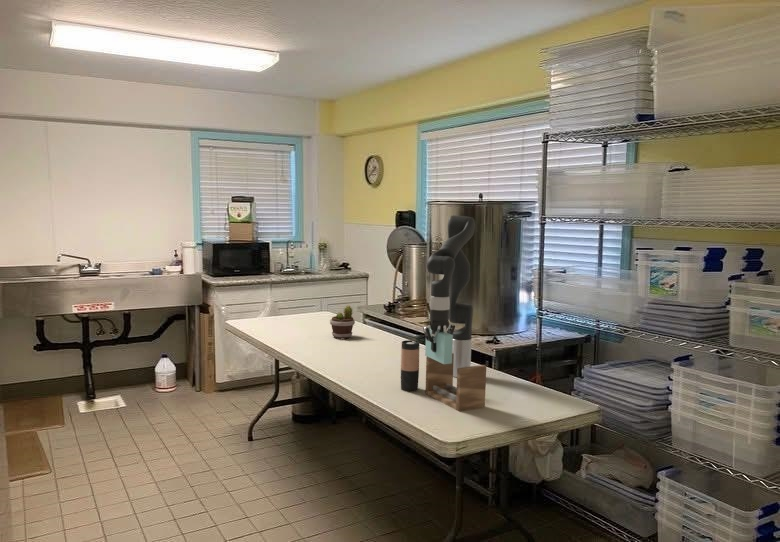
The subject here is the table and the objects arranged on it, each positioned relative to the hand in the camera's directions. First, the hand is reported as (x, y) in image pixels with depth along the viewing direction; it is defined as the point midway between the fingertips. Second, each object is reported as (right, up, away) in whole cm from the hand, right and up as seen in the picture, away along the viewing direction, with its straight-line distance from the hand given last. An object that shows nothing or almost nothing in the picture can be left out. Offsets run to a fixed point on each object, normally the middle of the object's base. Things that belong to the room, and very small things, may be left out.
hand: (438, 351), depth 229 cm
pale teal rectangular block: (0, -3, 0) cm, 3 cm away
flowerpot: (-47, -8, +117) cm, 127 cm away
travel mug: (-11, -19, +18) cm, 28 cm away
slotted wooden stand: (+7, -20, +5) cm, 22 cm away
